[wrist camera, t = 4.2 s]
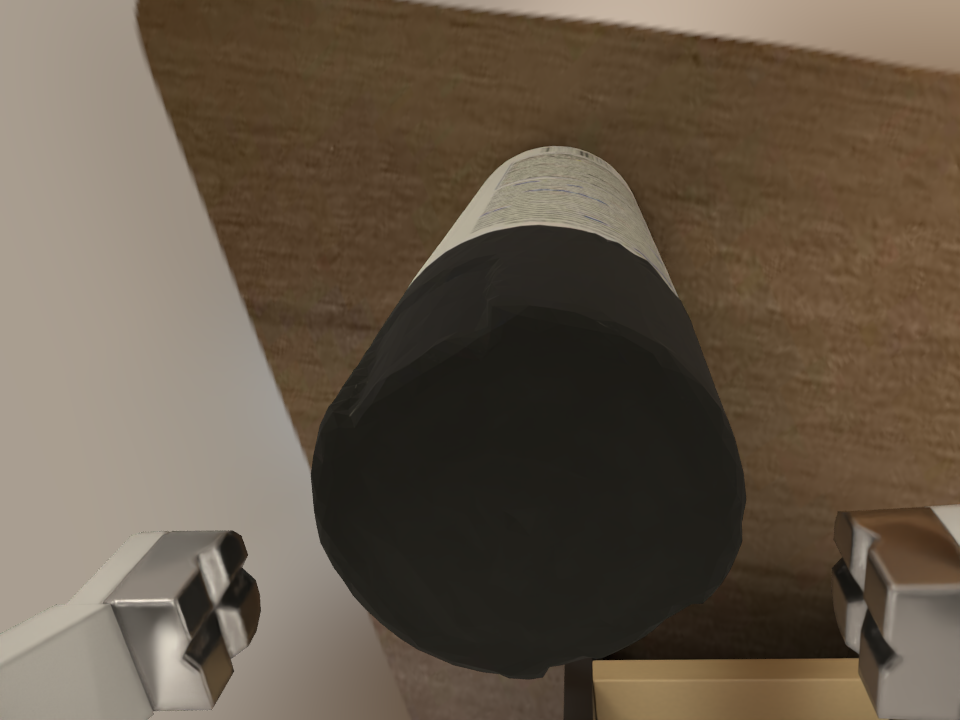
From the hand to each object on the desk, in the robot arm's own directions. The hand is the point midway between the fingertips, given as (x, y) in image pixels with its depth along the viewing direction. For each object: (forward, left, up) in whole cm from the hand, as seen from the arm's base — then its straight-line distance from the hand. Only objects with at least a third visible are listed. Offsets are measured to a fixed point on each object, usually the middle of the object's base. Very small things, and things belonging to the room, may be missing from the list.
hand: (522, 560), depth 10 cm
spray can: (0, 0, -21) cm, 21 cm away
